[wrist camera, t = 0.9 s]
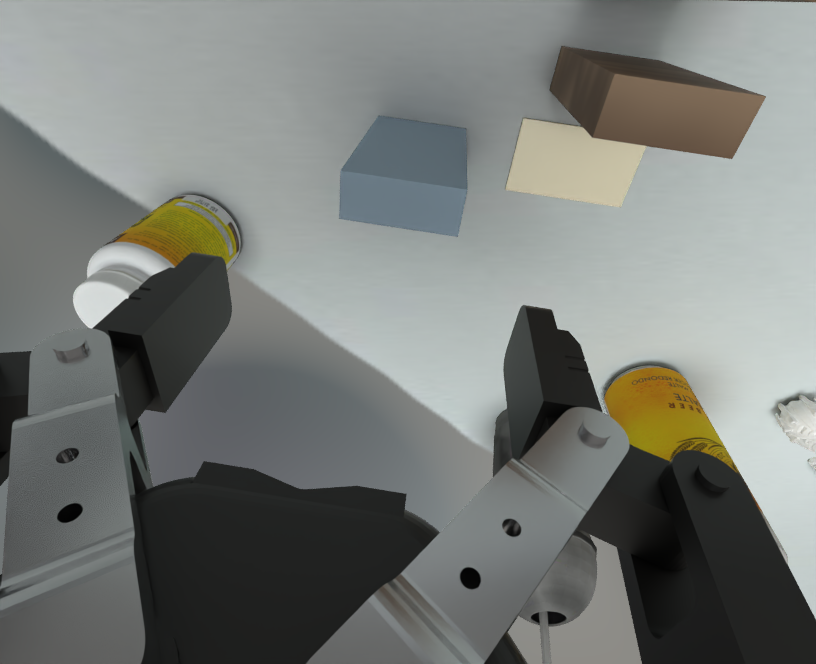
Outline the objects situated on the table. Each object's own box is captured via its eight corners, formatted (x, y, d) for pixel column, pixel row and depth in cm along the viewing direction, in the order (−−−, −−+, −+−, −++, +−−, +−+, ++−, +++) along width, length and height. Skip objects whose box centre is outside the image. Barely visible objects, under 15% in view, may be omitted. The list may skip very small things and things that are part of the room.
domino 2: (561, 46, 23) (614, 74, 15) (659, 60, 23) (765, 96, 15) (549, 90, 24) (592, 137, 16) (642, 104, 24) (732, 158, 16)
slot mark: (523, 117, 25) (523, 118, 25) (648, 136, 25) (649, 137, 25) (505, 188, 27) (505, 189, 27) (619, 206, 27) (620, 207, 27)
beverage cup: (581, 407, 37) (668, 712, 22) (542, 458, 42) (591, 743, 26) (498, 384, 37) (525, 681, 21) (468, 439, 41) (471, 718, 25)
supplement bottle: (176, 174, 29) (63, 245, 21) (256, 223, 30) (179, 307, 22) (154, 238, 32) (48, 323, 24) (228, 280, 33) (151, 372, 25)
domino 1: (378, 115, 25) (340, 170, 18) (465, 128, 25) (467, 189, 18) (376, 151, 27) (339, 218, 19) (459, 164, 27) (457, 236, 19)
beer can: (698, 393, 35) (818, 596, 23) (625, 425, 38) (699, 621, 26) (661, 347, 33) (773, 546, 21) (586, 384, 36) (648, 579, 24)
